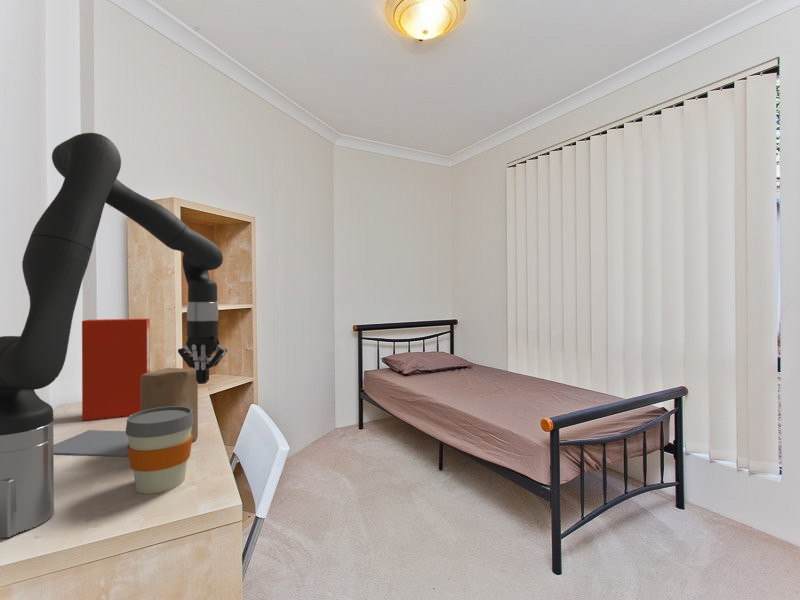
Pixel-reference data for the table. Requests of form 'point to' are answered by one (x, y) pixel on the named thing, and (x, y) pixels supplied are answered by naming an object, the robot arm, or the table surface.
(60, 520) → the table surface
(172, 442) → the reusable coffee cup
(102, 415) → the file binder
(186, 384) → the wooden block
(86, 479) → the table surface
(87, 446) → the mat
